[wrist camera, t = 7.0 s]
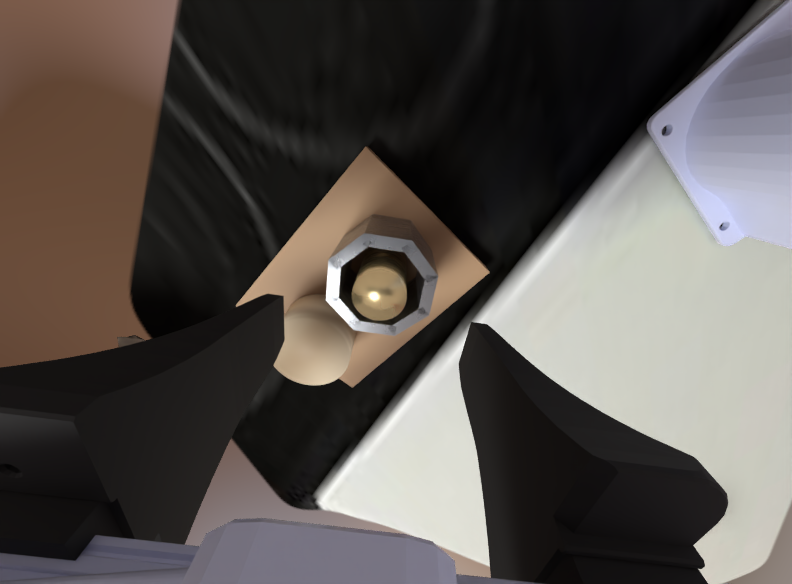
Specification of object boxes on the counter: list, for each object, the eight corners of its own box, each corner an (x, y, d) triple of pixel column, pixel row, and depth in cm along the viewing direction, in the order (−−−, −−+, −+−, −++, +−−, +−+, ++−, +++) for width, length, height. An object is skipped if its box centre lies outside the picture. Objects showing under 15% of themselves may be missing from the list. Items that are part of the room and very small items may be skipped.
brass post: (415, 262, 18) (418, 296, 14) (385, 290, 19) (381, 329, 15) (383, 233, 18) (377, 260, 14) (354, 263, 19) (340, 297, 14)
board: (485, 266, 19) (504, 294, 16) (354, 378, 24) (345, 420, 20) (367, 146, 17) (357, 147, 13) (242, 298, 21) (209, 331, 17)
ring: (437, 224, 17) (445, 245, 14) (419, 303, 20) (423, 340, 16) (345, 209, 17) (330, 227, 14) (339, 291, 19) (324, 326, 16)
